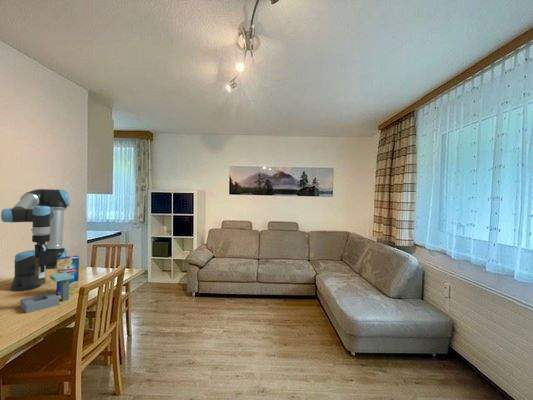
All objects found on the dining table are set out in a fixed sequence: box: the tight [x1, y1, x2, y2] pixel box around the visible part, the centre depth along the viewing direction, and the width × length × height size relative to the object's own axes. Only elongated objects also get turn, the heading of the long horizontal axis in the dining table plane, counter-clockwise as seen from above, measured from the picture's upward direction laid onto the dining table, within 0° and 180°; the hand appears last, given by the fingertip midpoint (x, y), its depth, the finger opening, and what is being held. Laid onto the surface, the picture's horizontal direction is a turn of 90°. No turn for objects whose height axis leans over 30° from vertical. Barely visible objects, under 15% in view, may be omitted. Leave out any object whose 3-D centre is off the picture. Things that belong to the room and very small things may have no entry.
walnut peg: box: [35, 258, 47, 285], centre depth 150 cm, size 4×4×14 cm
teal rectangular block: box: [49, 272, 71, 302], centre depth 158 cm, size 9×8×15 cm
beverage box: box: [55, 255, 80, 297], centre depth 170 cm, size 7×11×22 cm, turn 126°
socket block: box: [19, 292, 60, 314], centre depth 150 cm, size 12×14×4 cm
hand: (40, 276), depth 150 cm, fingers closed on walnut peg, 4 cm apart
